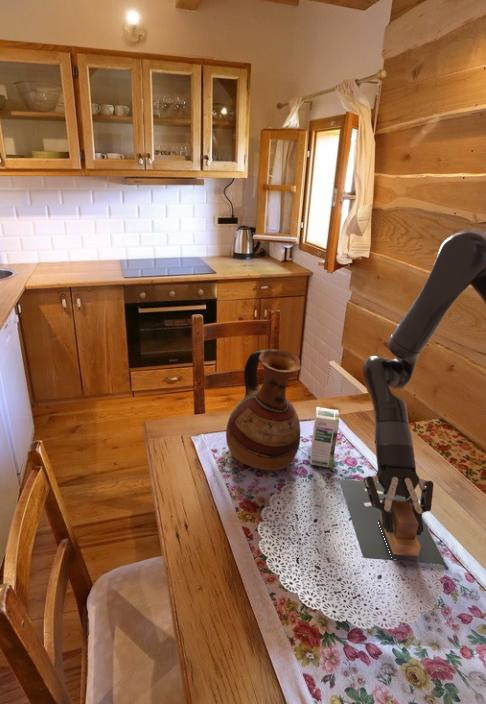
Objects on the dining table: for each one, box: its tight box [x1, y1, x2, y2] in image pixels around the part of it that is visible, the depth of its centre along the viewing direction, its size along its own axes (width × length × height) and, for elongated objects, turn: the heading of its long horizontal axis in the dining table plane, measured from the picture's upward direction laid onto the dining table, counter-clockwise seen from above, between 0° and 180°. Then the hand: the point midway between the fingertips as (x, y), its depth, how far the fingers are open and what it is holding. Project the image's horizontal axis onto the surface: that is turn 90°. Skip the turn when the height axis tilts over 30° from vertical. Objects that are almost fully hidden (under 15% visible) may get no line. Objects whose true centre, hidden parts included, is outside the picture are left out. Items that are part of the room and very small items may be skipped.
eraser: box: [378, 500, 421, 563], centre depth 83 cm, size 5×9×8 cm, turn 176°
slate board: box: [338, 478, 446, 565], centre depth 90 cm, size 16×22×1 cm
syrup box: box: [309, 406, 340, 469], centre depth 106 cm, size 6×6×14 cm
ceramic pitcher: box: [225, 348, 302, 471], centre depth 105 cm, size 20×20×30 cm
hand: (403, 533), depth 81 cm, fingers closed on eraser, 4 cm apart
